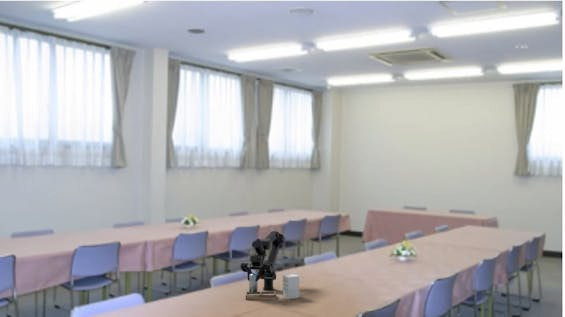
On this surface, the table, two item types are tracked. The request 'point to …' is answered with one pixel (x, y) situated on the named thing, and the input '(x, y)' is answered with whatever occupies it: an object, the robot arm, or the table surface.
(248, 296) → the wooden divided tray
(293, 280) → the supplement box
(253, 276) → the grey metal cylinder
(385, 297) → the table surface
